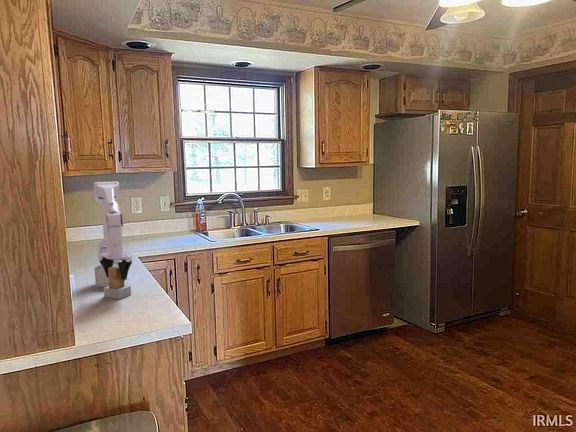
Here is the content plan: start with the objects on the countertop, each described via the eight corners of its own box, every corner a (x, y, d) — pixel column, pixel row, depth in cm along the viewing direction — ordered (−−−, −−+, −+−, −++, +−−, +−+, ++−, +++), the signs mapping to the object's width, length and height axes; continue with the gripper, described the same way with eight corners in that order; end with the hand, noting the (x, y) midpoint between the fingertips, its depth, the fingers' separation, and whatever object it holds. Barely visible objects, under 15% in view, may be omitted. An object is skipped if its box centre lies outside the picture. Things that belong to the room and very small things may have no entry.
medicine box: (118, 284, 187) (117, 264, 186) (114, 287, 183) (113, 267, 182) (99, 284, 187) (98, 264, 186) (95, 287, 182) (94, 267, 181)
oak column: (117, 285, 173) (115, 265, 172) (124, 286, 171) (123, 266, 170) (109, 287, 169) (107, 267, 168) (116, 289, 168) (115, 268, 167)
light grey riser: (116, 292, 175) (115, 284, 175) (131, 294, 172) (130, 286, 172) (104, 296, 170) (103, 287, 169) (119, 299, 167) (119, 290, 166)
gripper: (92, 244, 168) (94, 278, 169) (121, 247, 162) (123, 282, 163) (107, 241, 174) (109, 274, 176) (134, 243, 168) (136, 278, 170)
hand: (116, 278), depth 170 cm, fingers open, 7 cm apart
